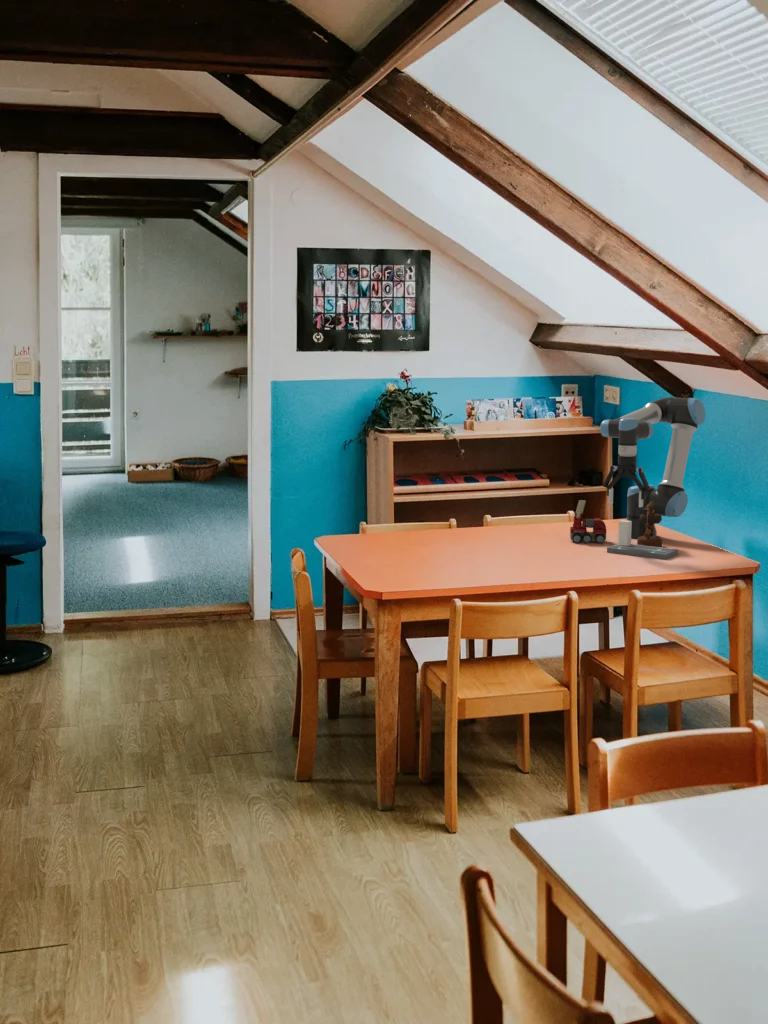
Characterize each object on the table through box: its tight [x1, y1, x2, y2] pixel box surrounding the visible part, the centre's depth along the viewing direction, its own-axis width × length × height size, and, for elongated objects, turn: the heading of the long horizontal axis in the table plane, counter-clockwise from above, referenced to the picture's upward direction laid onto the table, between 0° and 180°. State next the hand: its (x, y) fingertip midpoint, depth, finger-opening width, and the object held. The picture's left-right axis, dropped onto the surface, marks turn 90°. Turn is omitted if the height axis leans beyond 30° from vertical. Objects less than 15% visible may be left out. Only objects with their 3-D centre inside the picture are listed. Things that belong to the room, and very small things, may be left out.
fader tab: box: [616, 519, 634, 547], centre depth 470 cm, size 5×5×11 cm
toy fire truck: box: [569, 499, 607, 544], centre depth 493 cm, size 11×16×18 cm
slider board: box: [606, 543, 679, 560], centre depth 467 cm, size 13×26×3 cm, turn 53°
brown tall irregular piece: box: [636, 501, 663, 548], centre depth 481 cm, size 15×11×20 cm
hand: (625, 505), depth 468 cm, fingers open, 13 cm apart
